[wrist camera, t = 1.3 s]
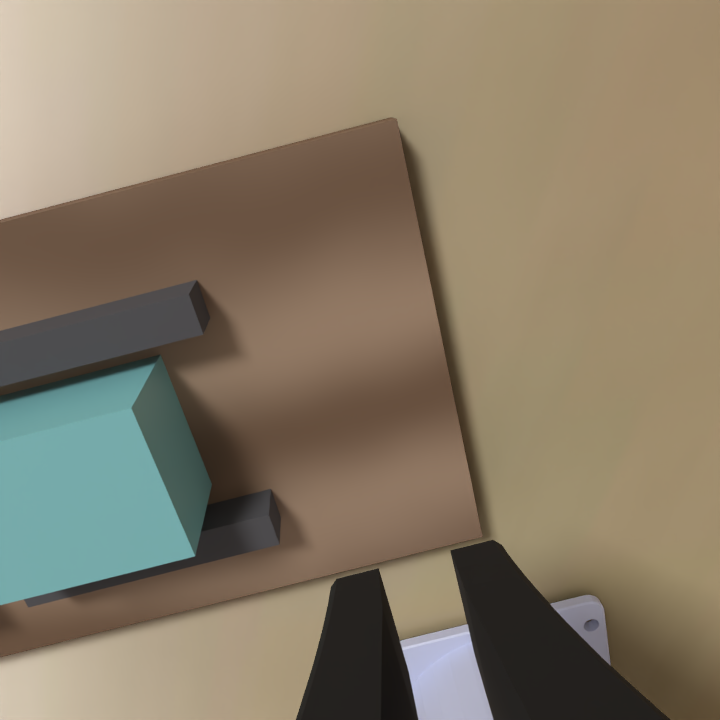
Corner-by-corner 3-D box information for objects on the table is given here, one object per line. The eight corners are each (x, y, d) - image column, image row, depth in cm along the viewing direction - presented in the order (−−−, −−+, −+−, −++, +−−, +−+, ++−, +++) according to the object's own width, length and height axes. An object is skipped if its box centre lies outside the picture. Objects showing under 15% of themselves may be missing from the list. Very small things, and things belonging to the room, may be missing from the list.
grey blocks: (280, 517, 18) (279, 544, 17) (44, 576, 19) (28, 607, 17) (197, 280, 16) (188, 293, 15) (-81, 351, 16) (-110, 371, 15)
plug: (212, 484, 18) (194, 556, 15) (37, 528, 18) (-11, 608, 15) (160, 354, 16) (131, 408, 14) (-31, 403, 16) (-99, 466, 14)
